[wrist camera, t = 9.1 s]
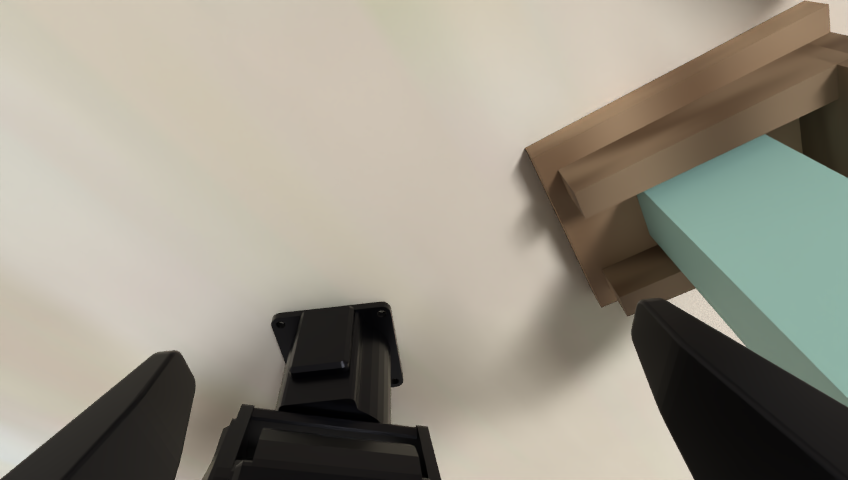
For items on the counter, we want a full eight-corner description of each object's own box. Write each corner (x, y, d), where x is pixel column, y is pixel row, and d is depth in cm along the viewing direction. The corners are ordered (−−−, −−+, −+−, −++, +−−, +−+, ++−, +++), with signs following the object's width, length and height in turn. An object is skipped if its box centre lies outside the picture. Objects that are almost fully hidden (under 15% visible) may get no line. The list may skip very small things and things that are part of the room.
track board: (593, 293, 26) (626, 351, 22) (525, 148, 21) (553, 192, 17) (821, 194, 23) (901, 242, 20) (804, 0, 18) (908, 16, 15)
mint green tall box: (649, 235, 23) (871, 491, 12) (631, 178, 21) (871, 421, 10) (773, 179, 21) (1141, 412, 11) (765, 114, 20) (1192, 318, 9)
